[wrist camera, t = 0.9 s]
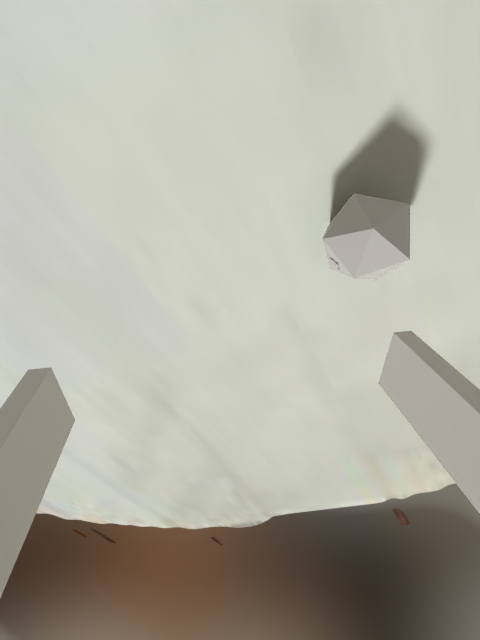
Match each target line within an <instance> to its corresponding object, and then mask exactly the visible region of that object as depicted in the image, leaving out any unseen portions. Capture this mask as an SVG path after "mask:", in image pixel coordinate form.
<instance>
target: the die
mask: <svg viewBox="0 0 480 640" xmlns="http://www.w3.org/2000/svg"><path fill="white" fill-rule="evenodd" d="M323 243H324V246H325V250H326V254H327V257H328V261H329V265H330V268H331V269H333V270H336V271H338V272H340V273H343V274H345V275H347V276H349V277H352V278H354V279H368V280H378V279H379V278H381V277H382V276H384V275H385V274H387V273H389V272H390V271H392V270H393V269H395V268H396V267H398V266H400V265H401V264H403V263H404V262H406V261H407V260H409V259H410V204H409V203H404V202H399V201H393V200H388V199H383V198H377V197H372V196H367V195H362V194H356V193H354V194H353V195H352V196H351V197H350V199H349V200H348V201H347V202H346V204H345V205H344V206H343V207H342V209H341V210H340V211H339V212H338V214H337V215H336V216H335V217H334V219H333V220H332V221H331V222H330V224H329V226H328V228H327V230H326V232H325V235H324V237H323Z"/></svg>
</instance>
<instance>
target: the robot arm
mask: <svg viewBox="0 0 480 640" xmlns="http://www.w3.org/2000/svg"><path fill="white" fill-rule="evenodd" d="M379 384H380V386H381V387H382V388H383V390H384V391H385V392H386V393H387V395H388V396H389V397H390V399H391V400H392V401H393V402H394V404H395V405H396V406H397V408H398V409H399V410H400V412H401V413H402V414H403V415H404V417H405V418H406V419H407V421H408V422H409V423H410V424H411V426H412V427H413V428H414V430H415V431H416V432H417V433H418V435H419V436H420V437H421V439H422V440H423V441H424V442H425V444H426V445H427V446H428V448H429V449H430V450H431V451H432V453H433V454H434V455H435V457H436V458H437V459H438V461H439V462H440V463H441V464H442V466H443V467H444V468H445V470H446V471H447V472H448V473H449V475H450V476H451V477H452V479H453V480H454V481H455V482H456V484H457V485H458V486H459V488H460V489H461V490H462V491H463V493H464V494H465V495H466V497H467V498H468V499H469V500H470V501H471V503H472V504H473V506H474V507H475V508H476V509H477V511H478V512H479V513H480V390H479V389H478V388H477V387H476V386H475V385H473V384H472V383H471V382H470V381H469V380H468V379H466V378H465V377H464V376H463V375H462V374H461V373H459V372H458V371H457V370H456V369H455V368H454V367H453V366H451V365H450V364H449V363H448V362H447V361H446V360H444V359H443V358H442V357H441V356H440V355H439V354H437V353H436V352H435V351H434V350H433V349H432V348H430V347H429V346H428V345H427V344H426V343H425V342H423V341H422V340H421V339H420V338H419V337H418V336H416V335H415V334H414V333H413V332H412V331H404V332H395V333H393V336H392V339H391V343H390V346H389V350H388V353H387V356H386V360H385V363H384V366H383V370H382V373H381V377H380V380H379ZM74 421H75V419H74V417H73V414H72V412H71V410H70V408H69V406H68V403H67V401H66V399H65V397H64V395H63V392H62V390H61V388H60V386H59V384H58V381H57V379H56V377H55V375H54V373H53V371H52V368H41V369H32V370H28V371H27V372H26V374H25V375H24V377H23V378H22V379H21V381H20V382H19V383H18V385H17V386H16V388H15V389H14V390H13V392H12V393H11V395H10V396H9V397H8V399H7V400H6V402H5V403H4V404H3V406H2V407H1V409H0V597H1V595H2V592H3V590H4V588H5V585H6V583H7V580H8V578H9V576H10V573H11V571H12V569H13V566H14V564H15V562H16V559H17V557H18V554H19V552H20V550H21V547H22V545H23V542H24V540H25V538H26V535H27V533H28V531H29V528H30V526H31V523H32V521H33V519H34V516H35V514H36V512H37V509H38V507H39V504H40V502H41V500H42V497H43V495H44V493H45V490H46V488H47V485H48V483H49V481H50V478H51V476H52V474H53V471H54V469H55V466H56V464H57V462H58V459H59V457H60V454H61V452H62V450H63V447H64V445H65V443H66V440H67V438H68V435H69V433H70V431H71V428H72V426H73V424H74Z"/></svg>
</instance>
